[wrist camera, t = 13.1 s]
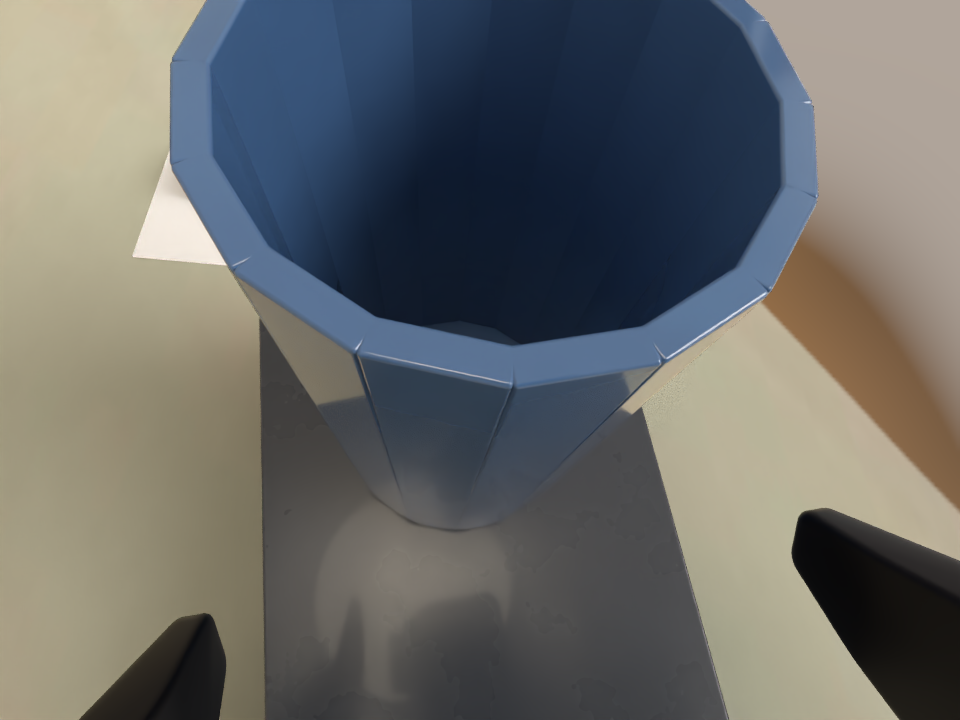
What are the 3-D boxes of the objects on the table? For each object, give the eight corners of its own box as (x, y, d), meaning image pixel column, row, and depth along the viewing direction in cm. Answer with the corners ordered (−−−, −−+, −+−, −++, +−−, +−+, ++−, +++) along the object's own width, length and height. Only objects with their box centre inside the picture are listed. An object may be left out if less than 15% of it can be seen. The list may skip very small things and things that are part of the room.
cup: (607, 449, 17) (948, 174, 6) (421, 578, 16) (389, 546, 4) (486, 286, 19) (565, -161, 8) (307, 384, 17) (65, -12, 6)
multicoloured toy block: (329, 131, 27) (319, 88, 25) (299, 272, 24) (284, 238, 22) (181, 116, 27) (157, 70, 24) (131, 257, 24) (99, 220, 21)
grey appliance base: (675, 731, 19) (745, 772, 14) (307, 811, 17) (266, 884, 13) (573, 319, 24) (602, 263, 20) (290, 351, 23) (258, 297, 18)
